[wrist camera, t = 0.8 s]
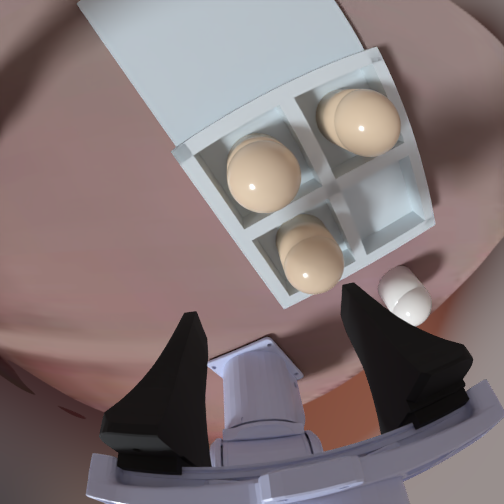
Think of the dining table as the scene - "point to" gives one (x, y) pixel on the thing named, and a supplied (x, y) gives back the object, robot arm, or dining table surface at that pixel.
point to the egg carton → (270, 116)
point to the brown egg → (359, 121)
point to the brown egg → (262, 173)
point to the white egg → (405, 295)
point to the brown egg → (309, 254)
